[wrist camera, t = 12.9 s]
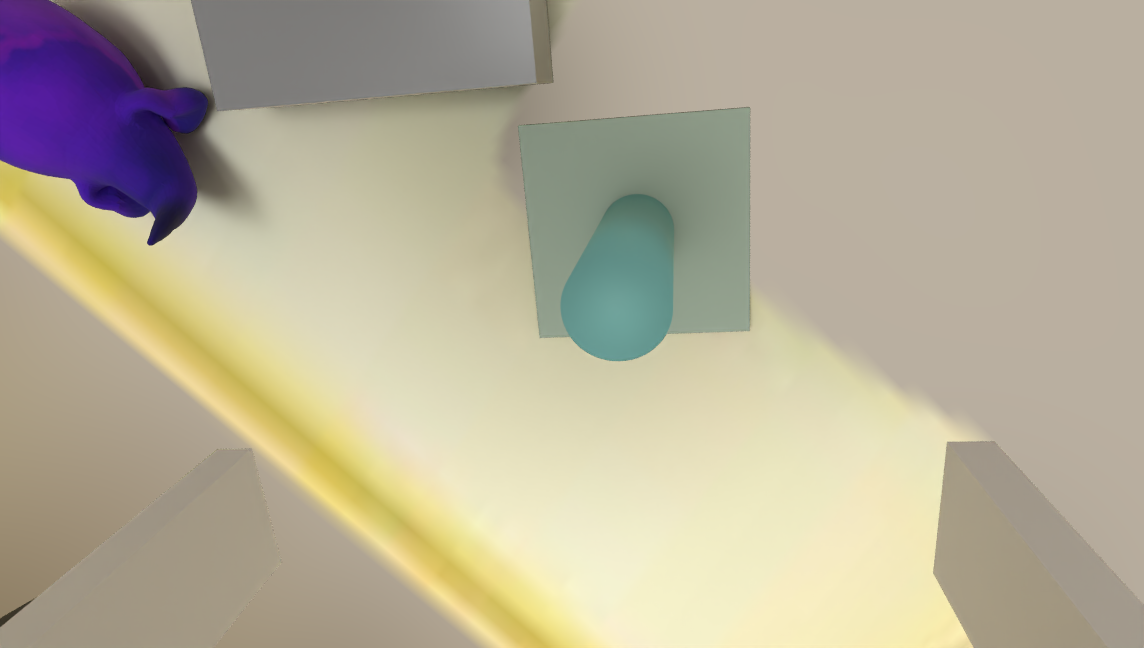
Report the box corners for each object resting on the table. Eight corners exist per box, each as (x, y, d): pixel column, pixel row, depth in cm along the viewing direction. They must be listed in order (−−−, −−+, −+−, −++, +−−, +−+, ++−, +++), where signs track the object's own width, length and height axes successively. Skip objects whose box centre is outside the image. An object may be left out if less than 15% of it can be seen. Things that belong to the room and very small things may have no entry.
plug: (598, 196, 37) (555, 256, 24) (672, 191, 36) (670, 250, 23) (603, 268, 38) (565, 362, 25) (675, 264, 38) (675, 359, 25)
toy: (283, 143, 40) (44, -46, 37) (193, 177, 31) (-133, -67, 28) (213, 248, 43) (-16, 83, 40) (112, 307, 34) (-193, 101, 31)
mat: (520, 125, 37) (517, 125, 36) (749, 107, 35) (750, 107, 35) (541, 334, 41) (539, 337, 40) (748, 327, 39) (749, 330, 38)
